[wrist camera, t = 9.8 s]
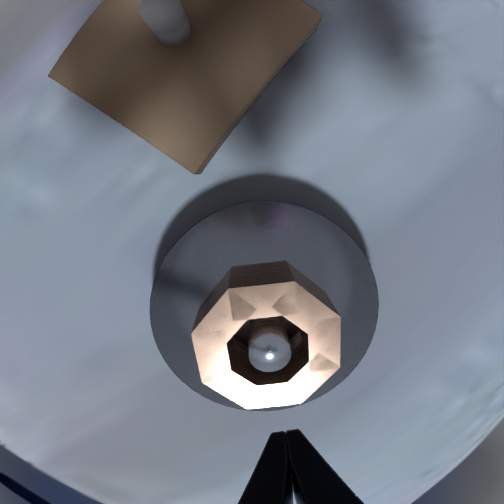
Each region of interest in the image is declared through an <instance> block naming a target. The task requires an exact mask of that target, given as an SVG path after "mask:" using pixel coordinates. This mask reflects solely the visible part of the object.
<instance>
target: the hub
mask: <svg viewBox="0 0 504 504" xmlns="http://www.w3.org/2000/svg"><path fill="white" fill-rule="evenodd" d="M285 260H286V261H287V262H288V263H290V264H291V265H292V266H294V267H295V268H296V269H297V270H299V271H300V272H301V273H302V274H304V275H305V276H306V277H307V278H309V279H310V280H311V281H312V282H314V283H315V284H316V285H317V286H319V287H320V288H321V289H323V290H324V291H325V292H326V294H327V295H328V297H329V299H330V300H331V302H332V303H333V305H334V307H335V308H336V310H337V312H338V313H339V315H340V317H341V340H340V368H339V369H338V370H337V371H336V372H335V373H334V374H333V375H332V376H331V377H329V378H328V379H327V380H326V381H325V382H324V383H323V384H322V385H321V386H320V387H319V388H318V389H317V390H316V391H314V392H313V393H312V394H311V395H310V396H309V397H308V398H307V399H306V400H305V401H303V402H302V403H299V404H292V405H284V406H275V407H265V408H255V409H246V408H244V407H242V406H241V405H239V404H237V403H235V402H234V401H232V400H230V399H228V398H227V397H225V396H223V395H222V394H220V393H218V392H217V391H215V390H213V389H212V388H210V387H208V386H207V385H205V384H203V383H202V380H201V376H200V372H199V368H198V363H197V359H196V355H195V350H194V346H193V341H192V336H191V331H192V328H193V325H194V322H195V319H196V316H197V313H198V310H199V307H200V305H201V304H202V303H203V301H204V300H205V299H206V298H207V296H208V295H209V294H210V293H211V291H212V290H213V289H214V288H215V287H216V285H217V284H218V283H219V282H220V280H221V279H222V278H223V277H224V275H225V274H226V273H227V272H228V271H229V269H230V268H231V267H232V266H241V265H250V264H259V263H268V262H277V261H285ZM378 307H379V301H378V290H377V285H376V281H375V277H374V274H373V271H372V269H371V266H370V264H369V262H368V260H367V258H366V257H365V255H364V253H363V251H362V250H361V249H360V248H359V246H358V245H357V244H356V242H355V241H354V240H353V239H352V238H351V237H350V236H349V235H348V234H347V233H346V232H345V231H344V230H342V229H341V228H340V227H338V226H337V225H335V224H334V223H333V222H331V221H330V220H328V219H327V218H325V217H323V216H322V215H320V214H318V213H316V212H314V211H312V210H310V209H307V208H304V207H301V206H298V205H295V204H290V203H285V202H280V201H253V202H245V203H241V204H236V205H232V206H230V207H227V208H224V209H221V210H219V211H217V212H215V213H213V214H211V215H209V216H207V217H205V218H204V219H202V220H201V221H200V222H198V223H197V224H196V225H194V226H193V227H192V228H191V229H190V230H189V231H188V232H186V233H185V234H184V235H183V236H182V237H181V238H180V239H179V240H178V241H177V243H176V244H175V245H174V246H173V247H172V249H171V250H170V251H169V253H168V254H167V255H166V257H165V259H164V260H163V262H162V264H161V266H160V268H159V270H158V272H157V275H156V278H155V280H154V283H153V288H152V292H151V298H150V321H151V327H152V332H153V336H154V339H155V342H156V344H157V347H158V349H159V351H160V353H161V355H162V357H163V358H164V360H165V362H166V363H167V365H168V366H169V367H170V369H171V370H172V371H173V372H174V373H175V375H176V376H177V377H178V378H179V379H180V380H181V381H182V382H184V383H185V384H186V385H187V386H188V387H190V388H191V389H192V390H194V391H195V392H197V393H199V394H200V395H202V396H203V397H205V398H207V399H210V400H212V401H214V402H216V403H219V404H222V405H225V406H228V407H232V408H236V409H241V410H250V411H273V410H281V409H287V408H292V407H295V406H298V405H302V404H305V403H307V402H309V401H312V400H314V399H316V398H318V397H320V396H322V395H324V394H325V393H327V392H329V391H330V390H332V389H333V388H334V387H336V386H337V385H338V384H340V383H341V382H342V381H343V380H344V379H345V378H346V377H347V376H348V375H349V374H350V373H351V372H352V371H353V370H354V369H355V367H356V366H357V365H358V364H359V362H360V361H361V359H362V358H363V356H364V355H365V353H366V351H367V349H368V347H369V345H370V343H371V340H372V338H373V335H374V332H375V328H376V324H377V319H378ZM298 331H299V327H298V326H296V325H295V324H293V323H292V322H291V321H289V320H288V319H286V318H285V317H284V316H276V317H267V318H258V319H248V320H247V321H246V322H245V323H244V324H243V325H242V326H241V327H240V329H239V330H238V331H237V332H236V333H235V334H234V335H233V337H234V338H235V339H236V340H238V341H239V342H241V343H242V344H244V345H245V346H247V347H248V348H249V360H250V362H251V364H252V365H253V366H254V367H255V368H257V369H258V370H261V371H264V372H274V371H278V370H280V369H282V368H283V367H285V366H286V365H287V364H288V362H289V360H290V358H291V349H290V344H289V341H290V340H291V339H292V338H293V337H294V336H295V334H296V333H297V332H298Z"/></svg>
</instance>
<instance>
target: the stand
mask: <svg viewBox="0 0 504 504" xmlns="http://www.w3.org/2000/svg"><path fill="white" fill-rule="evenodd" d="M322 17H323V15H322V14H321V13H319V12H318V11H316V10H315V9H313V8H312V7H310V6H309V5H307V4H305V3H304V2H302V1H301V0H104V1H103V2H102V3H101V4H100V5H99V6H98V8H97V9H96V10H95V11H94V12H93V14H92V15H91V16H90V17H89V19H88V20H87V21H86V22H85V24H84V25H83V26H82V27H81V29H80V30H79V31H78V33H77V34H76V35H75V37H74V38H73V39H72V41H71V42H70V44H69V45H68V46H67V48H66V49H65V51H64V52H63V54H62V55H61V56H60V58H59V59H58V61H57V62H56V64H55V65H54V67H53V69H52V70H51V72H50V73H49V75H48V77H50V78H52V79H53V80H55V81H56V82H58V83H59V84H61V85H62V86H64V87H66V88H67V89H69V90H70V91H72V92H73V93H75V94H76V95H78V96H79V97H81V98H82V99H84V100H85V101H87V102H89V103H90V104H92V105H93V106H95V107H96V108H98V109H99V110H101V111H102V112H104V113H105V114H107V115H108V116H110V117H111V118H113V119H114V120H116V121H117V122H119V123H120V124H122V125H123V126H125V127H126V128H128V129H129V130H130V131H132V132H133V133H135V134H136V135H138V136H139V137H141V138H142V139H144V140H145V141H147V142H148V143H150V144H151V145H152V146H154V147H155V148H157V149H158V150H160V151H161V152H163V153H164V154H166V155H167V156H168V157H170V158H171V159H173V160H174V161H176V162H177V163H178V164H180V165H181V166H183V167H184V168H186V169H187V170H189V171H190V172H191V173H193V174H201V173H202V171H203V170H204V168H205V167H206V166H207V164H208V163H209V161H210V160H211V159H212V157H213V156H214V155H215V153H216V152H217V150H218V149H219V148H220V146H221V145H222V144H223V142H224V141H225V140H226V138H227V137H228V136H229V134H230V133H231V132H232V130H233V129H234V128H235V127H236V125H237V124H238V123H239V121H240V120H241V119H242V117H243V116H244V115H245V114H246V112H247V111H248V110H249V108H250V107H251V106H252V105H253V103H254V102H255V101H256V100H257V98H258V97H259V96H260V95H261V93H262V92H263V91H264V90H265V89H266V87H267V86H268V85H269V84H270V82H271V81H272V80H273V79H274V78H275V76H276V75H277V74H278V73H279V72H280V70H281V69H282V68H283V67H284V66H285V65H286V63H287V62H288V61H289V60H290V59H291V58H292V56H293V55H294V54H295V53H296V52H297V51H298V50H299V48H300V47H301V46H302V45H303V44H304V43H305V42H306V41H307V39H308V38H309V37H310V36H311V35H312V34H313V33H314V32H315V31H316V29H317V27H318V25H319V23H320V21H321V19H322Z"/></svg>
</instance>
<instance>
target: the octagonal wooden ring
mask: <svg viewBox="0 0 504 504" xmlns="http://www.w3.org/2000/svg"><path fill="white" fill-rule="evenodd" d="M276 316H284V317H285V318H286V319H288V320H289V321H291V322H292V323H293V324H295V325H296V326H298V327H299V331H298V332H297V333H296V334H295V336H294V337H293V338H292V339H291V340H290V341H289V344H290V349H291V358H290V360H289V362H288V364H287V365H286V366H285V367H283V368H282V369H280V370H278V371H274V372H264V371H261V370H258V369H257V368H255V367H254V366H253V365H252V364H251V362H250V360H249V348H248V347H247V346H245V345H244V344H242V343H241V342H239V341H238V340H236V339H235V338H234V337H233V335H234V334H235V333H236V332H237V331H238V330H239V329H240V327H241V326H242V325H243V324H244V323H245V322H246V321H247V320H248V319H258V318H267V317H276ZM191 336H192V341H193V346H194V350H195V355H196V359H197V363H198V368H199V372H200V376H201V380H202V383H203V384H205V385H207V386H208V387H210V388H212V389H213V390H215V391H217V392H218V393H220V394H222V395H223V396H225V397H227V398H228V399H230V400H232V401H234V402H235V403H237V404H239V405H241V406H242V407H244V408H246V409H255V408H265V407H275V406H284V405H292V404H299V403H302V402H303V401H305V400H306V399H307V398H308V397H309V396H310V395H311V394H312V393H313V392H314V391H316V390H317V389H318V388H319V387H320V386H321V385H322V384H323V383H324V382H325V381H326V380H327V379H328V378H329V377H331V376H332V375H333V374H334V373H335V372H336V371H337V370H338V369H339V368H340V340H341V317H340V315H339V313H338V312H337V310H336V308H335V307H334V305H333V303H332V302H331V300H330V299H329V297H328V295H327V294H326V292H325V291H324V290H323V289H321V288H320V287H319V286H317V285H316V284H315V283H314V282H312V281H311V280H310V279H309V278H307V277H306V276H305V275H304V274H302V273H301V272H300V271H299V270H297V269H296V268H295V267H294V266H292V265H291V264H290V263H288V262H287V261H286V260H285V261H277V262H268V263H259V264H250V265H241V266H232V267H231V268H230V269H229V271H228V272H227V273H226V274H225V275H224V277H223V278H222V279H221V280H220V282H219V283H218V284H217V285H216V287H215V288H214V289H213V290H212V291H211V293H210V294H209V295H208V296H207V298H206V299H205V300H204V301H203V303H202V304H201V305H200V307H199V310H198V313H197V316H196V319H195V322H194V325H193V328H192V331H191Z"/></svg>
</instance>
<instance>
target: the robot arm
mask: <svg viewBox="0 0 504 504" xmlns="http://www.w3.org/2000/svg"><path fill="white" fill-rule="evenodd" d="M285 434H286V435H285ZM291 478H292V479H291ZM292 485H293V486H292ZM293 491H294V495H295V499H296V503H297V504H364V503H363V502H362V501H361V500H360V499H359V498H358V497H357V496H356V495H355V493H354V492H353V491H352V490H351V489H350V488H349V487H348V486H347V485H346V483H345V482H344V481H343V480H342V479H341V478H340V477H339V476H338V474H337V473H336V472H335V471H334V470H333V469H332V468H331V466H330V465H329V464H328V463H327V462H326V461H325V460H324V458H323V457H322V456H321V455H320V454H319V453H318V451H317V450H316V449H315V448H314V447H313V445H312V444H311V443H310V442H309V441H308V439H307V438H306V437H305V436H304V435H303V433H302V432H301V431H300V430H299V429H293V430H287V431H286V432H284V431H280V432H273V433H271V435H270V437H269V439H268V441H267V443H266V446H265V448H264V450H263V452H262V454H261V457H260V459H259V461H258V463H257V465H256V467H255V470H254V472H253V474H252V476H251V478H250V480H249V482H248V484H247V486H246V488H245V490H244V492H243V494H242V496H241V498H240V500H239V502H238V504H293Z"/></svg>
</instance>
